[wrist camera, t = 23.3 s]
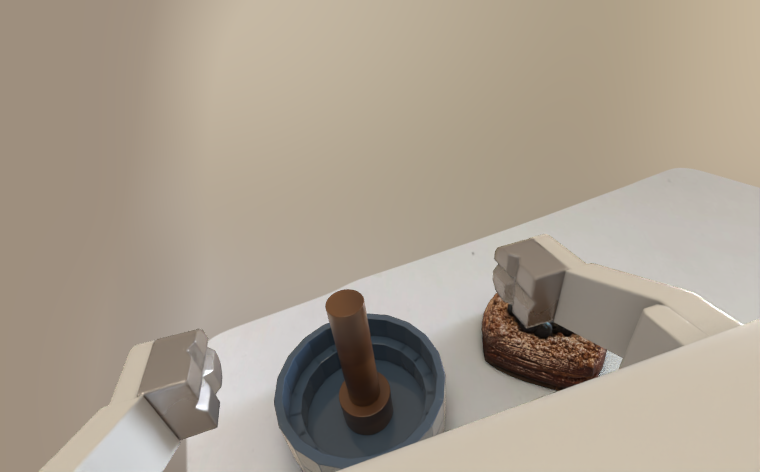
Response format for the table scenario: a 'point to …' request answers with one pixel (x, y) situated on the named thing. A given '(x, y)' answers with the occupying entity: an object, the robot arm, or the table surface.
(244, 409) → the table surface
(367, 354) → the pestle
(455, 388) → the table surface
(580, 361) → the pastry
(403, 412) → the bowl
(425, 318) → the table surface
